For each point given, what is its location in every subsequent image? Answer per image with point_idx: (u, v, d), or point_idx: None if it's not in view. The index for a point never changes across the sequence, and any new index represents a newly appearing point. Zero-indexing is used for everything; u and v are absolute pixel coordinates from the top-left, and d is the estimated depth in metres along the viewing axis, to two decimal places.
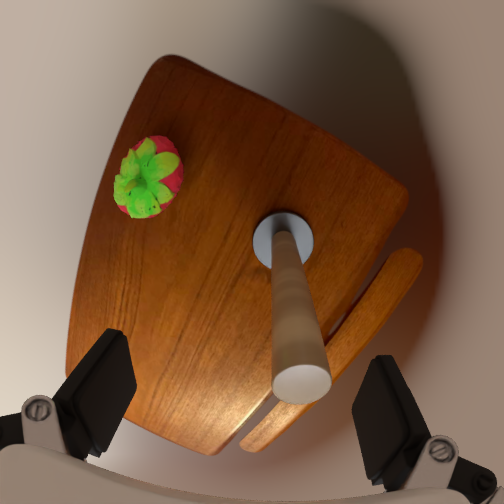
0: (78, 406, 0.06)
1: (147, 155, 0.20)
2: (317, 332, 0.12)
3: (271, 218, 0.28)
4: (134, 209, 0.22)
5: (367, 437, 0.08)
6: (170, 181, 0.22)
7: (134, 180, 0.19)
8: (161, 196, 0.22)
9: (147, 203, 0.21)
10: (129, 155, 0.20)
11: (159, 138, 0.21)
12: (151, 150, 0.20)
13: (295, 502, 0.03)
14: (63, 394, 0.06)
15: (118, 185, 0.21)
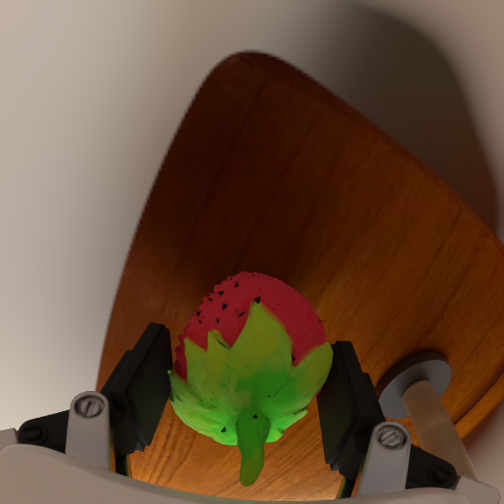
0: (132, 399, 0.07)
1: (272, 371, 0.08)
2: None
3: (413, 369, 0.15)
4: (232, 443, 0.09)
5: (326, 421, 0.09)
6: None
7: (260, 454, 0.07)
8: None
9: None
10: (216, 361, 0.08)
11: (289, 306, 0.09)
12: (281, 357, 0.08)
13: (295, 502, 0.03)
14: (117, 388, 0.07)
15: (189, 409, 0.09)
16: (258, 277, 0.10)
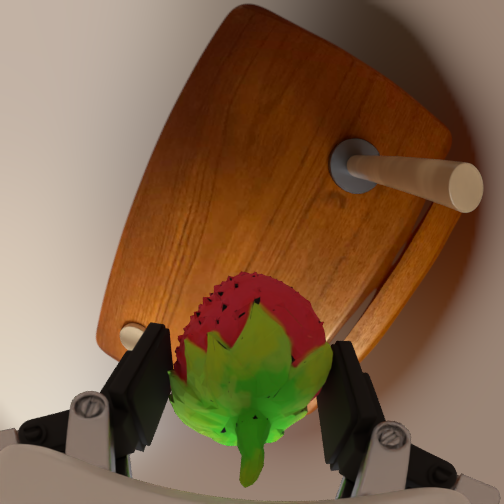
0: (133, 399, 0.07)
1: (272, 372, 0.08)
2: None
3: (347, 142, 0.28)
4: (232, 444, 0.09)
5: (326, 421, 0.09)
6: (312, 397, 0.09)
7: (260, 455, 0.07)
8: None
9: None
10: (215, 361, 0.08)
11: (289, 307, 0.09)
12: (281, 358, 0.08)
13: (295, 502, 0.03)
14: (117, 388, 0.07)
15: (189, 410, 0.09)
16: (258, 278, 0.10)
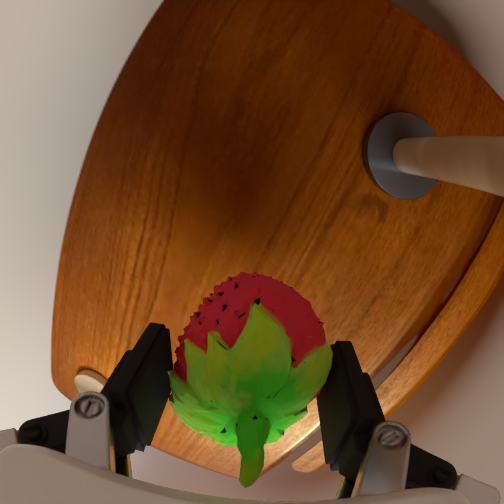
0: (132, 399, 0.07)
1: (272, 372, 0.08)
2: None
3: (392, 118, 0.16)
4: (232, 444, 0.09)
5: (326, 421, 0.09)
6: (312, 398, 0.09)
7: (260, 455, 0.07)
8: (291, 424, 0.09)
9: None
10: (215, 362, 0.08)
11: (288, 308, 0.09)
12: (281, 359, 0.08)
13: (295, 502, 0.03)
14: (117, 388, 0.07)
15: (189, 410, 0.09)
16: (258, 278, 0.10)
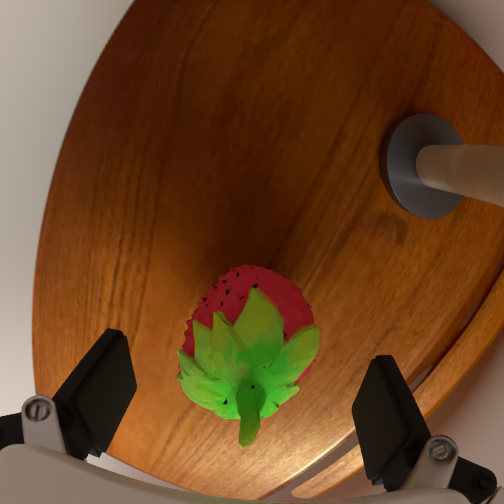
0: (78, 406, 0.06)
1: (267, 345, 0.10)
2: None
3: (415, 120, 0.12)
4: (233, 417, 0.11)
5: (367, 437, 0.08)
6: (303, 374, 0.11)
7: (256, 417, 0.08)
8: (285, 398, 0.11)
9: (260, 413, 0.11)
10: (220, 336, 0.10)
11: (281, 291, 0.11)
12: (274, 333, 0.10)
13: (295, 502, 0.03)
14: (63, 394, 0.06)
15: (196, 383, 0.11)
16: (256, 268, 0.12)
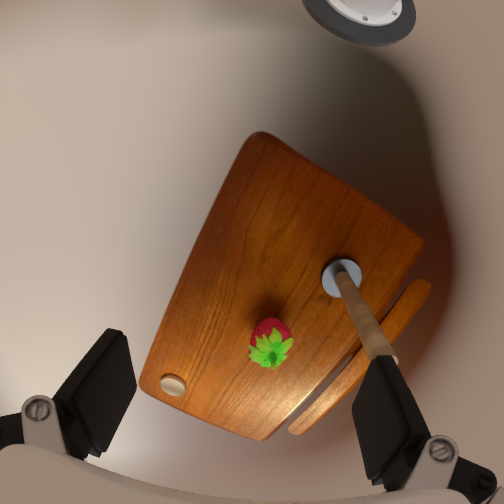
0: (78, 406, 0.06)
1: (277, 342, 0.37)
2: None
3: (336, 262, 0.39)
4: (266, 366, 0.38)
5: (367, 437, 0.08)
6: (288, 351, 0.38)
7: (275, 361, 0.35)
8: (282, 359, 0.38)
9: None
10: (265, 340, 0.37)
11: (281, 328, 0.37)
12: (279, 339, 0.37)
13: (295, 502, 0.03)
14: (63, 394, 0.06)
15: (256, 354, 0.37)
16: (274, 320, 0.39)
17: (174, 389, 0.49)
